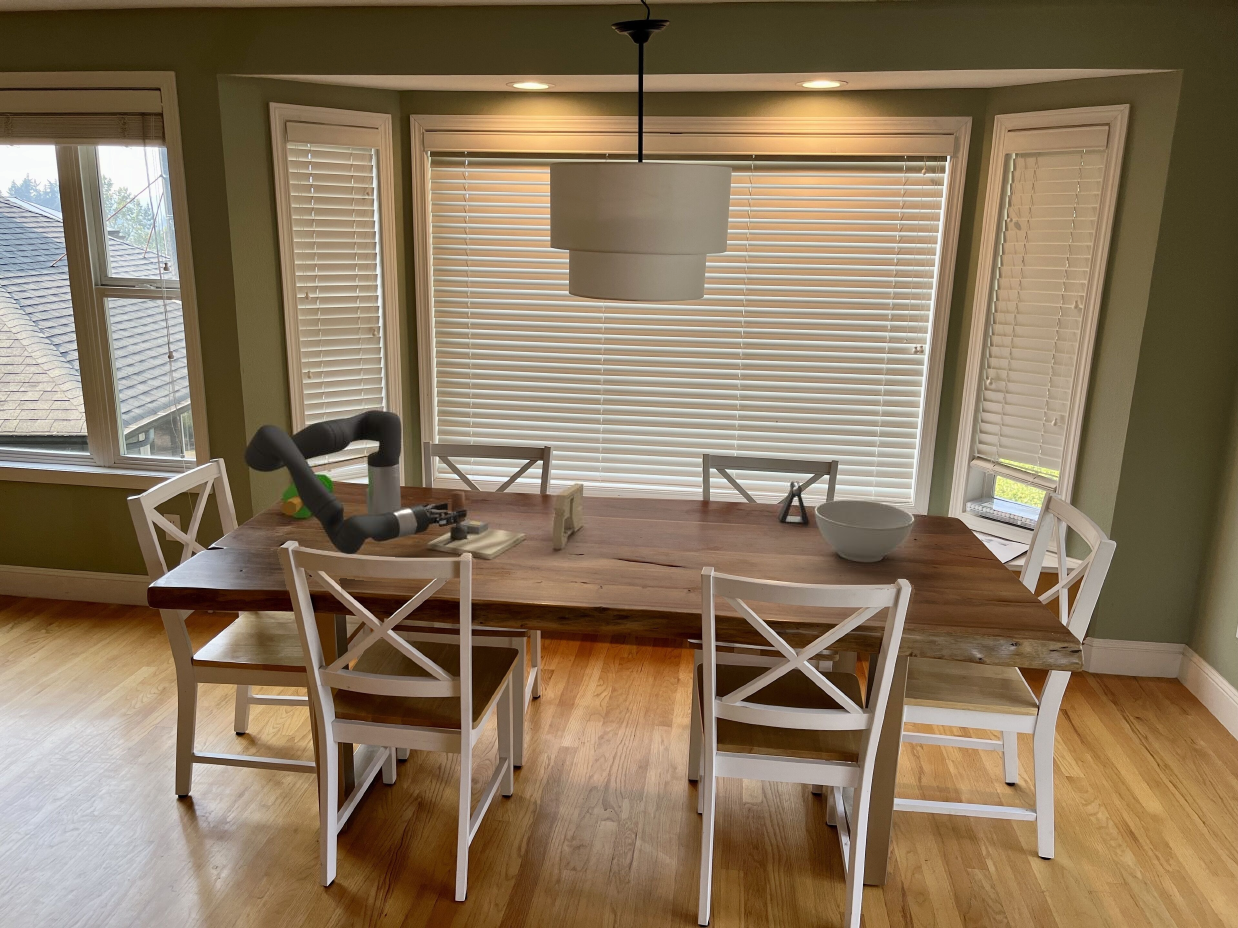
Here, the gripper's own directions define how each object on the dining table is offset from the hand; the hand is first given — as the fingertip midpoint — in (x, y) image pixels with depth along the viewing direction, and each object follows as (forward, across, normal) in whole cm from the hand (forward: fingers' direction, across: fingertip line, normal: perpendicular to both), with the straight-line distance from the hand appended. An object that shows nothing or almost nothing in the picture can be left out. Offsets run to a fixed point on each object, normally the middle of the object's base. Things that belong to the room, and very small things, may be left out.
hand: (456, 509), depth 250 cm
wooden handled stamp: (+1, 0, -8) cm, 8 cm away
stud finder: (+8, -3, -8) cm, 12 cm away
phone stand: (+90, +54, -10) cm, 105 cm away
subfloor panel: (+4, +4, -10) cm, 11 cm away
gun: (+27, +17, -10) cm, 34 cm away
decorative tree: (-13, -56, -11) cm, 59 cm away
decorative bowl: (+75, +84, -10) cm, 114 cm away
